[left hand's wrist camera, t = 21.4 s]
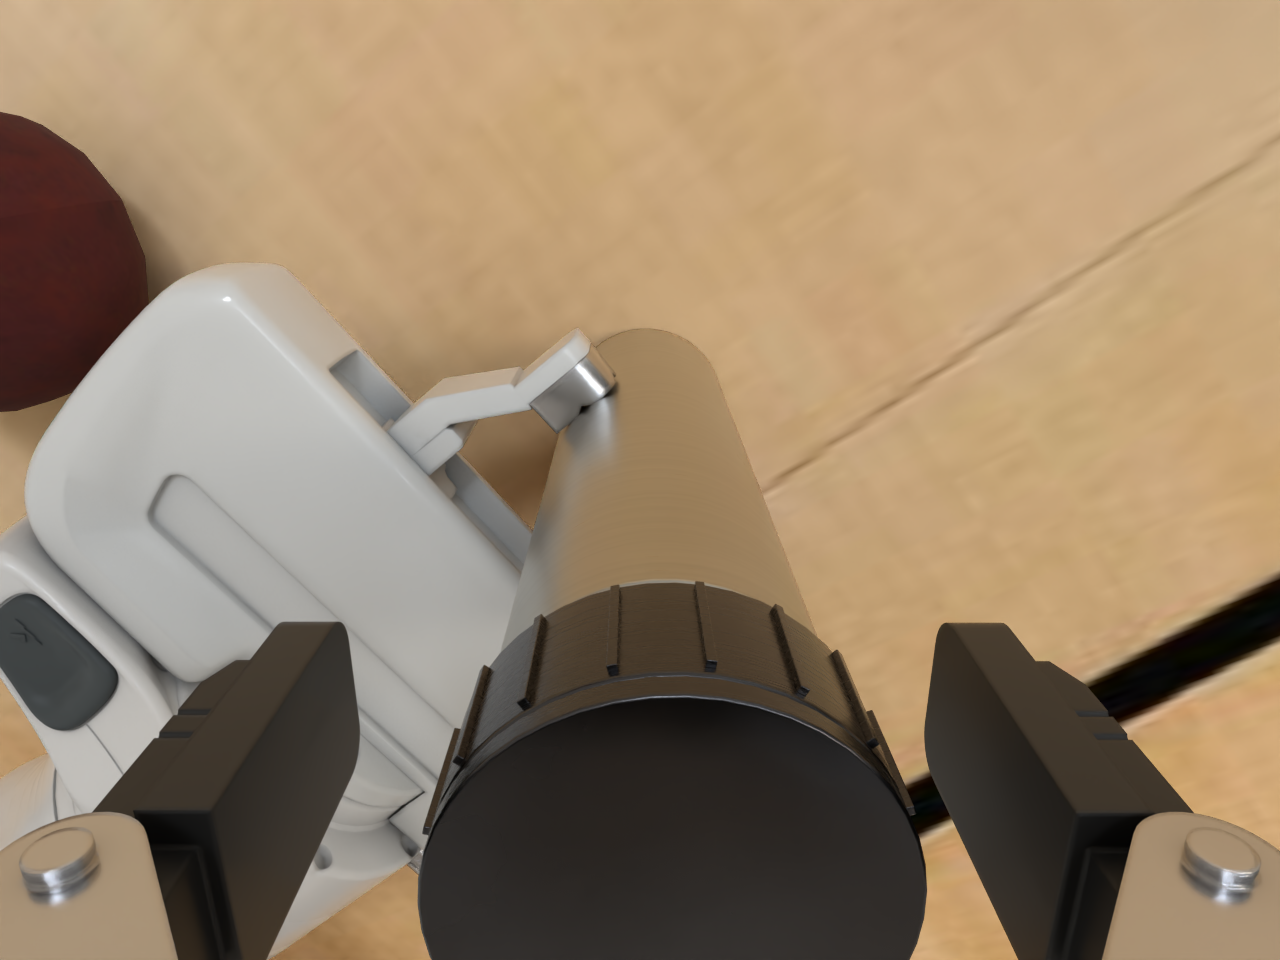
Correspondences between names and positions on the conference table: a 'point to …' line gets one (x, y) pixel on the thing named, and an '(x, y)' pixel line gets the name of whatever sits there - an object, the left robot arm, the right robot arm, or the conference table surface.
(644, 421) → the beige cylinder
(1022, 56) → the conference table surface
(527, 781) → the lid
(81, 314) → the dark red plum
